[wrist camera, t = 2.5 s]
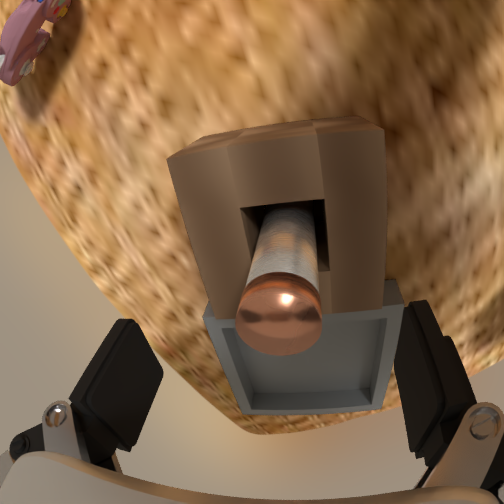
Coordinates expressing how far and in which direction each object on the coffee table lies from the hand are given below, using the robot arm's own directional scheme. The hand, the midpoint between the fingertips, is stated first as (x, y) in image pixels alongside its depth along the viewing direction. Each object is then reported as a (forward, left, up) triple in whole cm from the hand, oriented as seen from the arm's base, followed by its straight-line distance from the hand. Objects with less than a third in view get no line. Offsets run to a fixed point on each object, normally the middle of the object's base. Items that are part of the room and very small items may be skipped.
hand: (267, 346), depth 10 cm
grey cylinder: (0, -1, -12) cm, 12 cm away
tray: (0, +14, -12) cm, 19 cm away
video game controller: (+15, -19, -13) cm, 27 cm away
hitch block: (0, -1, -12) cm, 12 cm away
